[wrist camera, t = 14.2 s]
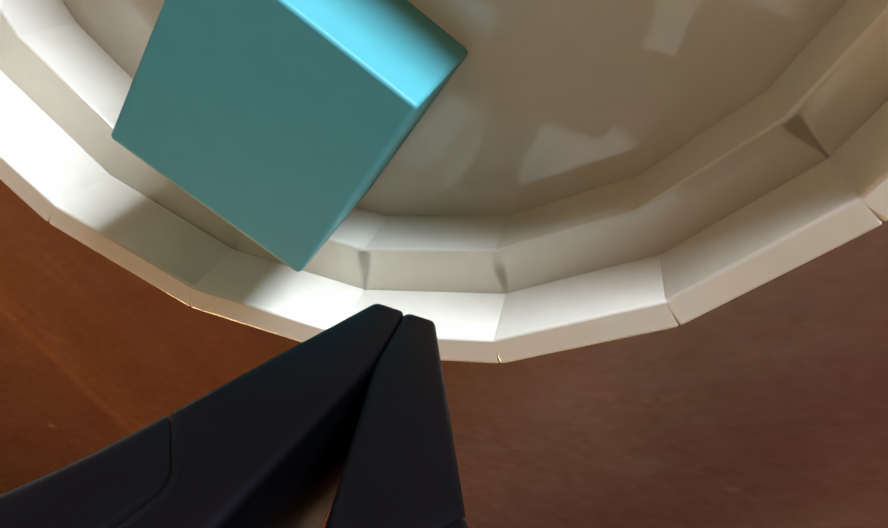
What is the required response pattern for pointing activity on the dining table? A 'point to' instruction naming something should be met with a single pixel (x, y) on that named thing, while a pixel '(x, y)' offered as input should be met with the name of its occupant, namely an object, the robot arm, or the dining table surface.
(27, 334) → the dining table surface
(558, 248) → the bowl
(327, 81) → the block
